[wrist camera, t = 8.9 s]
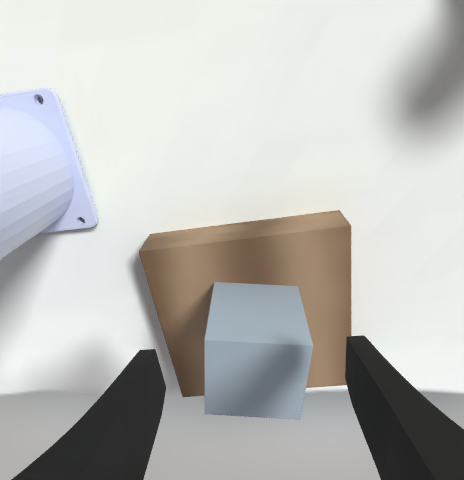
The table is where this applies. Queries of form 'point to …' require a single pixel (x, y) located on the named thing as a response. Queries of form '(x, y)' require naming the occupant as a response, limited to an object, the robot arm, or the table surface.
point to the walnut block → (253, 272)
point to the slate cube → (256, 351)
